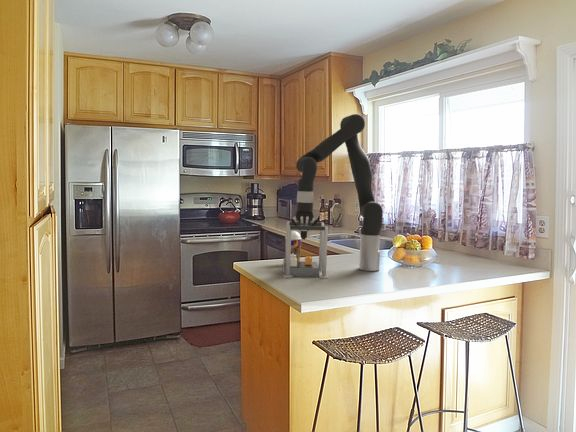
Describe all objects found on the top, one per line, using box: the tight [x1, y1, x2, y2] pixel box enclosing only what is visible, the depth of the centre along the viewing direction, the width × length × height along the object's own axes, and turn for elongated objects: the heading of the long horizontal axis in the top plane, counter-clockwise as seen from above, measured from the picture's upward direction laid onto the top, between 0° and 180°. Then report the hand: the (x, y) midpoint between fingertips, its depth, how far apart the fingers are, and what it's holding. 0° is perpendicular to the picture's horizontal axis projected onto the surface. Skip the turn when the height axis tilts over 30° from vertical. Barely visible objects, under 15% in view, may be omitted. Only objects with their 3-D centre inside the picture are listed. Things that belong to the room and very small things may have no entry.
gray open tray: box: [282, 257, 320, 278], centre depth 206 cm, size 16×14×6 cm
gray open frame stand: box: [282, 221, 329, 280], centre depth 205 cm, size 20×20×23 cm
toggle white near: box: [290, 258, 297, 266], centre depth 201 cm, size 3×3×4 cm
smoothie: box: [284, 225, 303, 261], centre depth 223 cm, size 8×8×20 cm
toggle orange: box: [304, 255, 313, 265], centre depth 206 cm, size 3×3×4 cm
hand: (303, 239), depth 205 cm, fingers closed
